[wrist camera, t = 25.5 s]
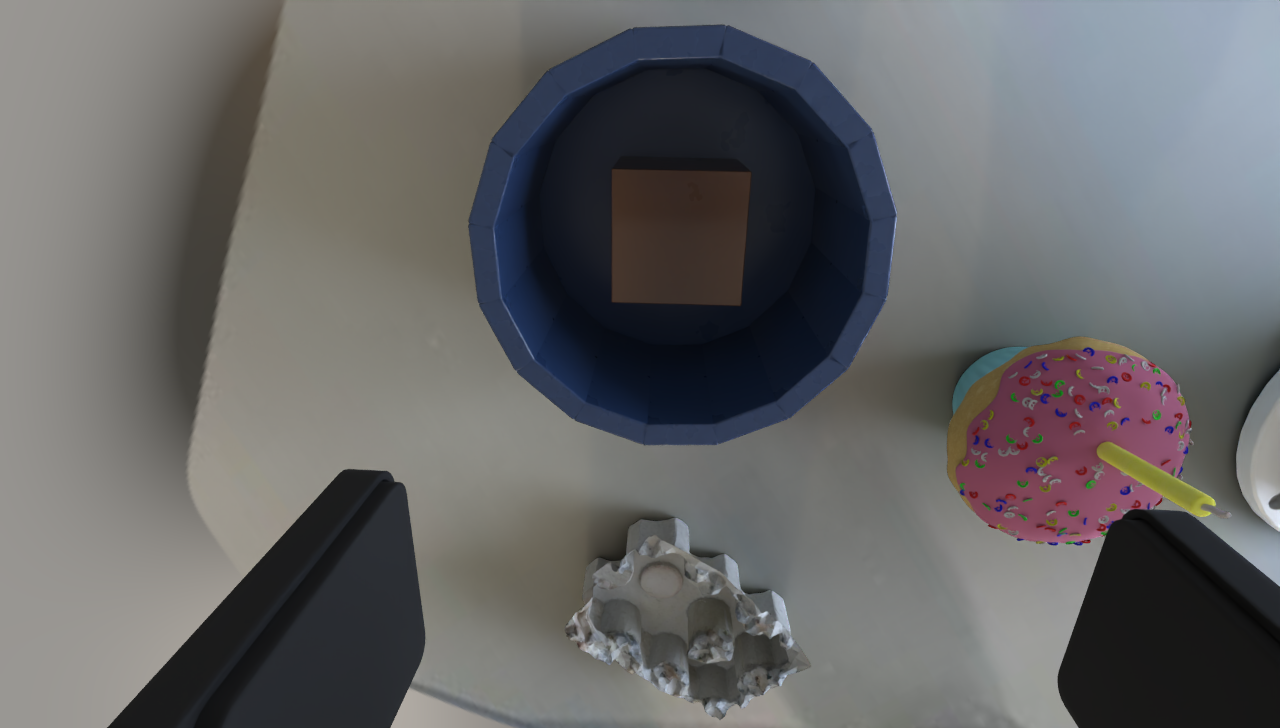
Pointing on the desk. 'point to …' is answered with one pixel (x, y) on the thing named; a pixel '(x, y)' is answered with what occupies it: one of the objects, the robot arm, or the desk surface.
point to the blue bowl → (775, 247)
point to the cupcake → (1068, 440)
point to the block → (679, 230)
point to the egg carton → (684, 621)
